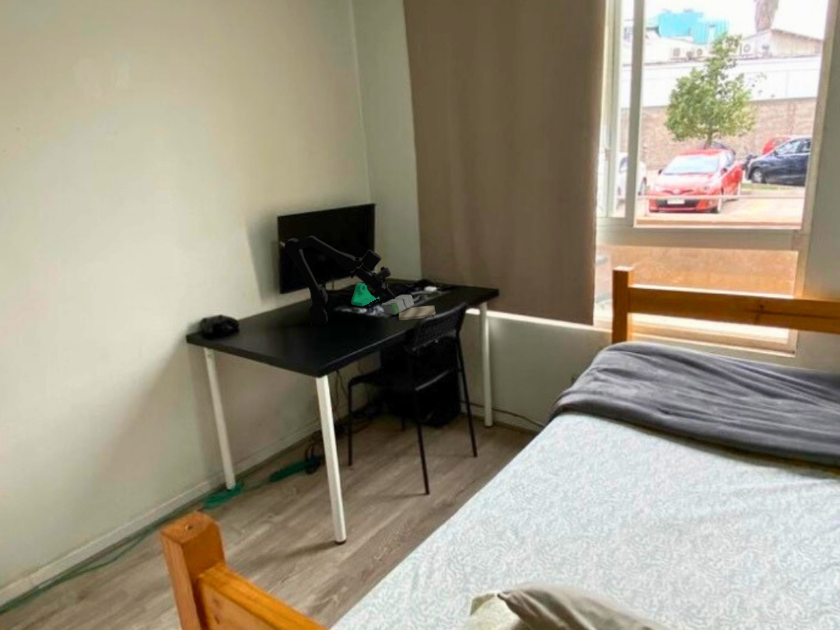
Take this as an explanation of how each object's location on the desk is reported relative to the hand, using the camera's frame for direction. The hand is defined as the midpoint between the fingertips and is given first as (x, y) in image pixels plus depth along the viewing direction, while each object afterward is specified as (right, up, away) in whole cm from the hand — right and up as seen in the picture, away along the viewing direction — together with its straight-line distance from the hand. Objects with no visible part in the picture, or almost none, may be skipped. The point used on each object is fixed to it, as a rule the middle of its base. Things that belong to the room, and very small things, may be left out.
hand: (394, 298), depth 248 cm
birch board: (+10, -7, +2) cm, 12 cm away
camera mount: (-15, -2, +27) cm, 31 cm away
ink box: (-3, -5, +3) cm, 7 cm away
